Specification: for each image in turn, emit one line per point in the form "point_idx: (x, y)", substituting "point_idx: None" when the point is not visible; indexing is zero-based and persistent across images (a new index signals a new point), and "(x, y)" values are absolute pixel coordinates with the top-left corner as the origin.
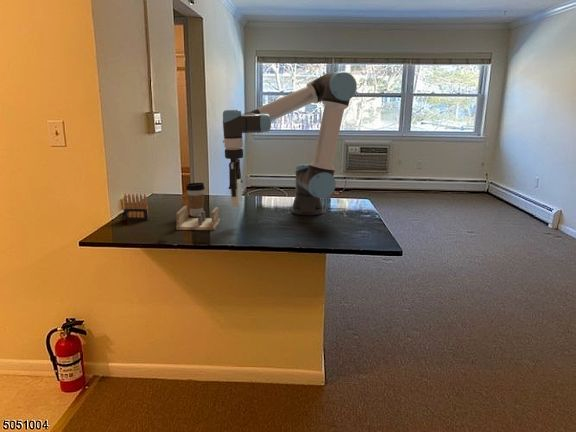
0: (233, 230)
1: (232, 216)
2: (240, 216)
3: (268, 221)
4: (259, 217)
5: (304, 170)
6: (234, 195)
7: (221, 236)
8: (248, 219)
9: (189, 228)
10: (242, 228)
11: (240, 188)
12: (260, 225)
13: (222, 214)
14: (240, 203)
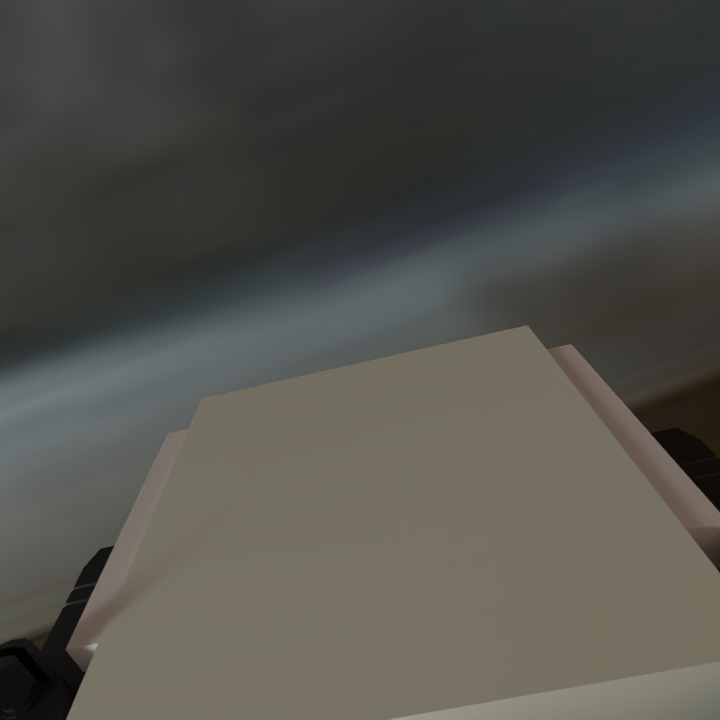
0: (518, 275)
1: (110, 437)
2: (75, 379)
3: (103, 25)
4: (7, 191)
5: None
6: (704, 457)
7: (697, 304)
8: (133, 275)
9: None
10: (442, 219)
11: (237, 537)
12: (292, 68)
13: (95, 522)
14: (344, 367)
